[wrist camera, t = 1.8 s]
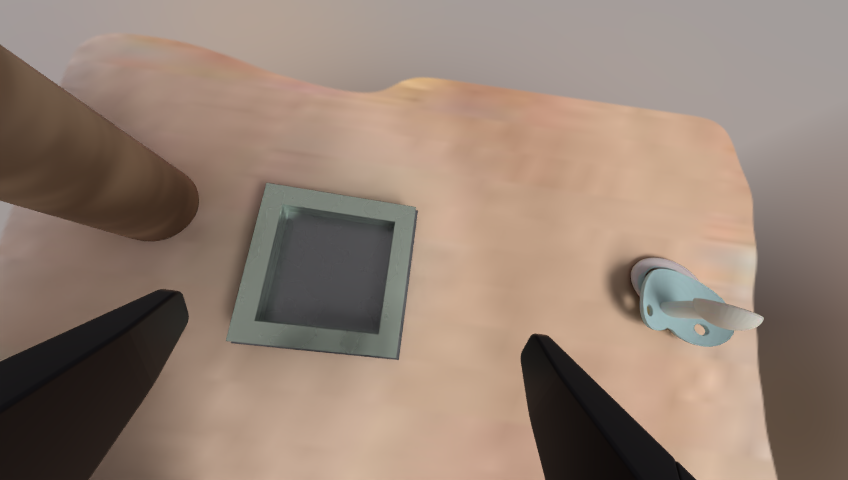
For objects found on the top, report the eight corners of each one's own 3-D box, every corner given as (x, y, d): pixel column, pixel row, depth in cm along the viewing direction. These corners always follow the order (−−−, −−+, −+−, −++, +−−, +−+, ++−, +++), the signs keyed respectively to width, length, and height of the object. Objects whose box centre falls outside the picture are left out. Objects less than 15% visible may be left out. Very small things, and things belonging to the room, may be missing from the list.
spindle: (144, 257, 19) (-226, 176, 7) (91, 200, 19) (-349, 33, 7) (215, 205, 20) (-1, 66, 9) (165, 152, 20) (-113, -54, 9)
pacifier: (623, 247, 25) (614, 320, 23) (705, 223, 19) (700, 320, 17) (703, 277, 25) (699, 351, 23) (807, 264, 19) (812, 362, 17)
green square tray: (398, 358, 20) (400, 364, 18) (234, 342, 19) (218, 346, 17) (416, 212, 22) (420, 203, 20) (272, 189, 21) (262, 177, 19)
